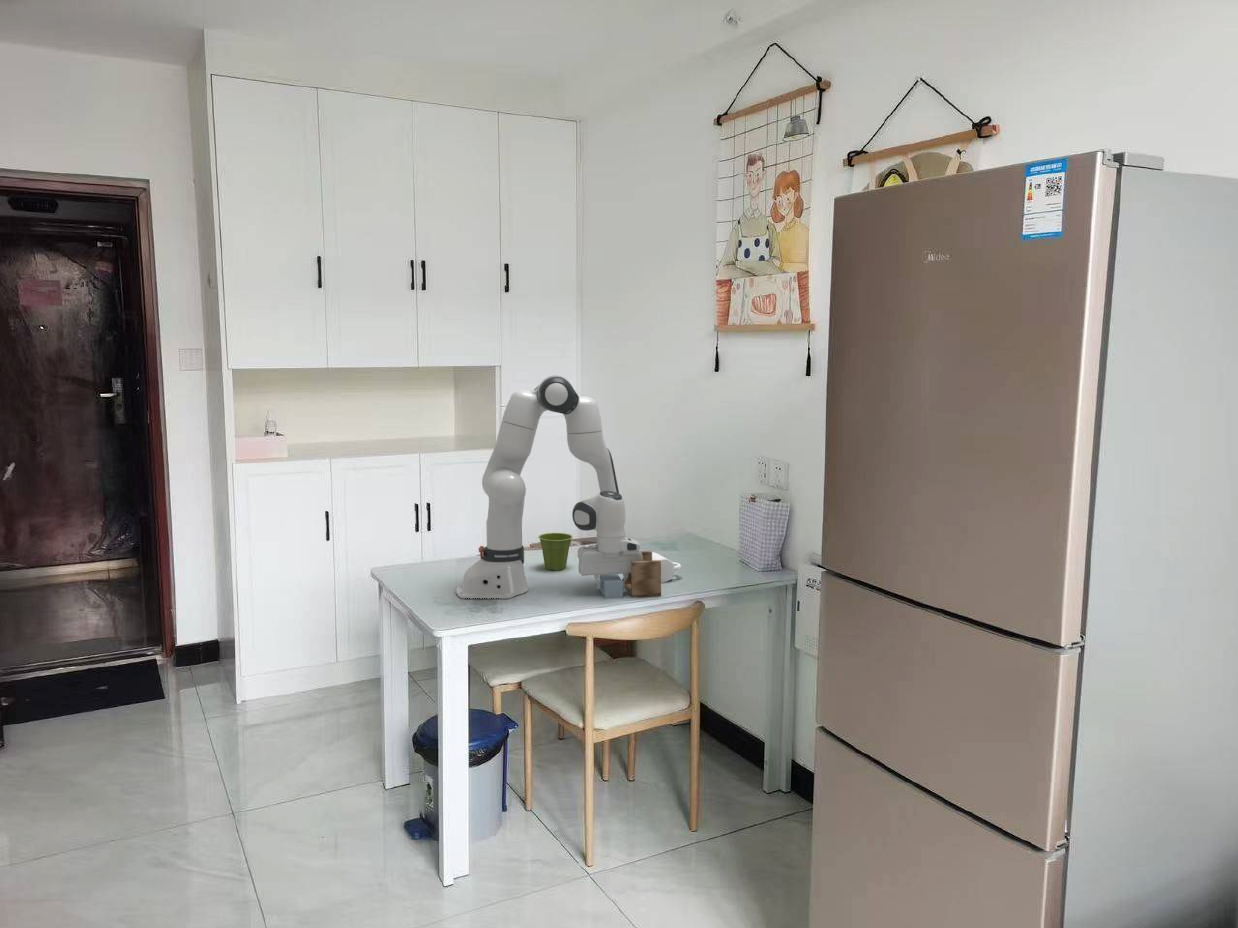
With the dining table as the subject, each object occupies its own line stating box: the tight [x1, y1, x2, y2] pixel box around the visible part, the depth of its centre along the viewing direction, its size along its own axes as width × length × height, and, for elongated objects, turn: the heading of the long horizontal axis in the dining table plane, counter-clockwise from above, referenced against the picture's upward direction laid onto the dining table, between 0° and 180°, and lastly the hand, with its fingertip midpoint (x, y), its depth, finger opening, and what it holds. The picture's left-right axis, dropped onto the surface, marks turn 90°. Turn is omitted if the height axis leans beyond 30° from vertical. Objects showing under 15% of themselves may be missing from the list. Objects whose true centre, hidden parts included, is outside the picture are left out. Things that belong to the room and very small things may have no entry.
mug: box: [652, 551, 682, 584], centre depth 298 cm, size 12×10×8 cm
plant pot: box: [537, 532, 574, 571], centre depth 311 cm, size 12×12×11 cm
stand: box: [624, 550, 662, 599], centre depth 283 cm, size 9×14×11 cm, turn 11°
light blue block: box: [599, 574, 624, 599], centre depth 281 cm, size 6×10×5 cm, turn 11°
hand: (611, 587), depth 281 cm, fingers closed on light blue block, 5 cm apart
